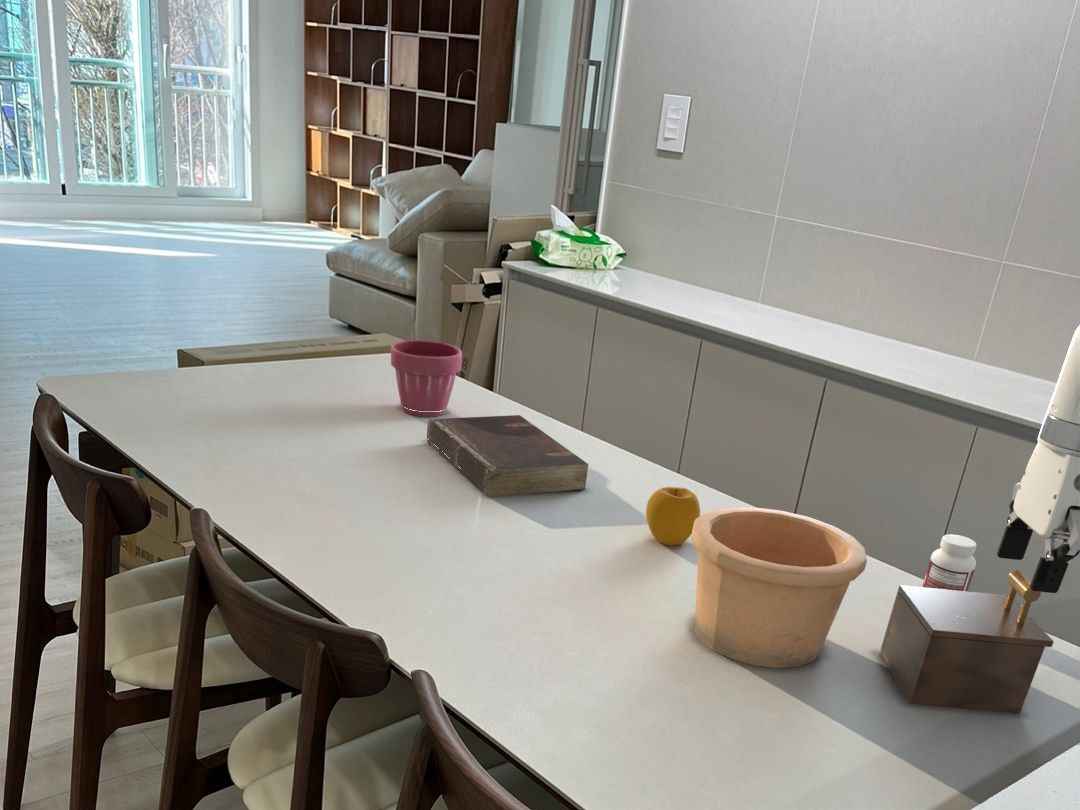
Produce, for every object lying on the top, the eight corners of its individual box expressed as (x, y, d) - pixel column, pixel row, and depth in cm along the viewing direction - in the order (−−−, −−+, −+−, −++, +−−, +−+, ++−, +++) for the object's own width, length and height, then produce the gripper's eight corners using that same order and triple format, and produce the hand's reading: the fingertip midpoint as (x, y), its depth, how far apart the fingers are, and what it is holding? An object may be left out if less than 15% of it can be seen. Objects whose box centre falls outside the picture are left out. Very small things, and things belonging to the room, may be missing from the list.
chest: (980, 664, 140) (1002, 600, 136) (1019, 715, 129) (1045, 647, 125) (878, 655, 140) (897, 590, 135) (909, 705, 128) (931, 636, 124)
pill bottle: (933, 598, 159) (954, 529, 154) (968, 615, 155) (991, 545, 149) (907, 605, 155) (928, 535, 150) (942, 622, 151) (965, 551, 146)
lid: (1008, 601, 136) (1022, 559, 133) (1051, 647, 125) (1068, 603, 122) (897, 590, 135) (909, 548, 132) (931, 636, 124) (945, 591, 121)
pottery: (640, 621, 141) (657, 520, 134) (752, 591, 154) (772, 498, 147) (761, 695, 126) (787, 586, 120) (873, 656, 139) (902, 555, 132)
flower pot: (420, 424, 209) (424, 359, 203) (374, 406, 217) (376, 343, 211) (472, 414, 219) (476, 352, 213) (425, 397, 227) (429, 337, 221)
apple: (664, 527, 173) (673, 475, 169) (706, 545, 168) (716, 492, 164) (630, 537, 167) (639, 484, 163) (672, 556, 162) (681, 501, 158)
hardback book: (426, 443, 199) (427, 417, 197) (517, 440, 207) (519, 415, 204) (485, 497, 176) (487, 468, 174) (584, 491, 184) (588, 464, 182)
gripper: (1147, 463, 112) (1089, 608, 120) (1073, 418, 127) (1025, 549, 135) (1079, 455, 111) (1025, 601, 119) (1013, 410, 126) (968, 543, 134)
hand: (1025, 574), depth 127 cm, fingers open, 9 cm apart
